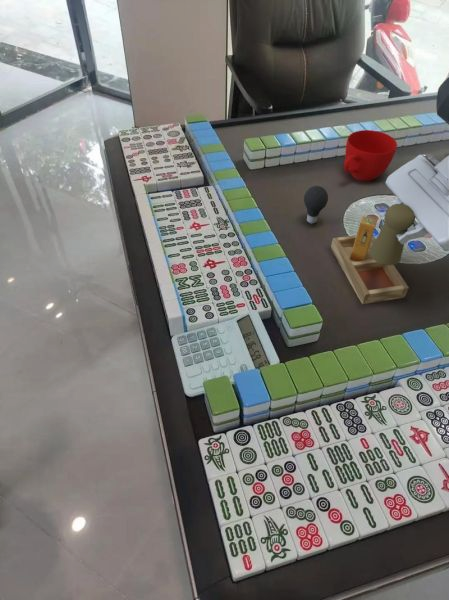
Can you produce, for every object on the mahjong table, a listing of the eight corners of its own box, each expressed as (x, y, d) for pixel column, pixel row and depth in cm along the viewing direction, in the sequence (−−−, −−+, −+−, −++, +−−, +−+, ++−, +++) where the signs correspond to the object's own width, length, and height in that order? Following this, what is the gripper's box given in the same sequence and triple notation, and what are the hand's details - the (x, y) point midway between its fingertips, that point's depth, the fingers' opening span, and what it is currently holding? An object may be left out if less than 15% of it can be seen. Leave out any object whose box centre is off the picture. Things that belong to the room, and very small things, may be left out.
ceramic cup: (321, 178, 120) (328, 145, 113) (358, 158, 128) (366, 125, 120) (359, 199, 114) (369, 164, 106) (395, 176, 121) (407, 142, 114)
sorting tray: (368, 242, 102) (371, 232, 100) (404, 297, 90) (409, 287, 88) (330, 247, 101) (332, 237, 98) (362, 304, 89) (365, 294, 86)
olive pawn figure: (365, 245, 87) (380, 199, 79) (394, 243, 87) (412, 198, 79) (375, 265, 83) (392, 220, 75) (405, 264, 83) (425, 218, 75)
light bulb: (326, 220, 107) (334, 186, 100) (316, 232, 104) (323, 197, 97) (306, 213, 110) (312, 178, 102) (295, 224, 106) (301, 189, 99)
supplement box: (366, 254, 98) (378, 218, 91) (363, 263, 96) (375, 228, 89) (352, 250, 99) (363, 214, 92) (348, 259, 97) (359, 223, 90)
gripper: (419, 140, 80) (358, 192, 85) (490, 203, 67) (412, 260, 72) (432, 159, 84) (373, 207, 89) (501, 222, 71) (427, 275, 76)
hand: (391, 231), depth 81 cm, fingers closed on olive pawn figure, 4 cm apart
